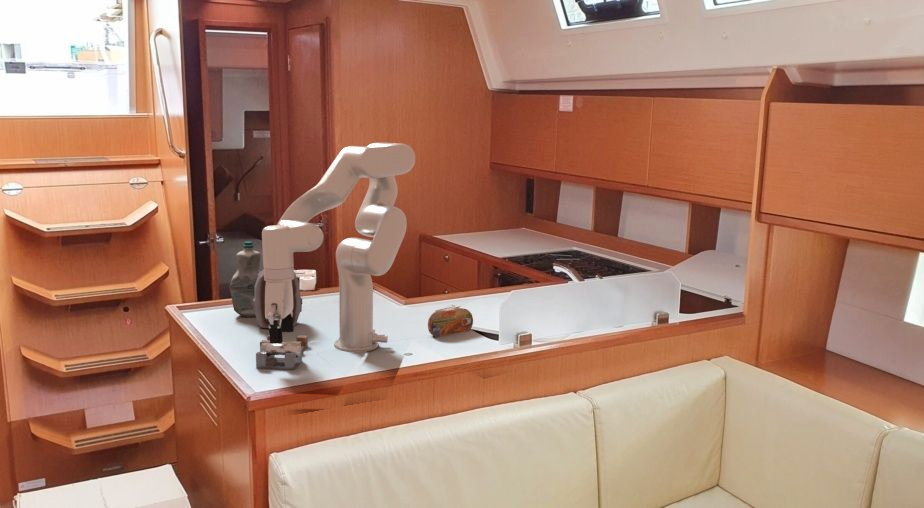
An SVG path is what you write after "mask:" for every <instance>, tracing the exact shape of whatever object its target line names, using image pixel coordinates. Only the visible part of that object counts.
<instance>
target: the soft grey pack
mask: <svg viewBox="0 0 924 508" xmlns="http://www.w3.org/2000/svg"><path fill="white" fill-rule="evenodd" d="M296 274H297V273H295V272H294V279H293V280H292V289H293V310H292V312H293V327H294V326H297V323H298V319H299V316H300V313H301V312H302V311H303V309H302V308H303V306H302V305H303V298H302V297H301V289H300V281H299V280H298V277H297V276H296ZM265 286H266V281H265V280H264V268H263V269H262V270H261V272H260V273H259V274H258V278H257V281H256V284H255V298H254V299H253V311H254V314H255V315H256V316H255V318H256V322H257V323H258V327H260V328H263V329H268V330H269V324H268V321H269V320H268V319H266V318H265ZM276 321H277V323H278V320H276ZM280 328H281V327H280Z"/></svg>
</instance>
